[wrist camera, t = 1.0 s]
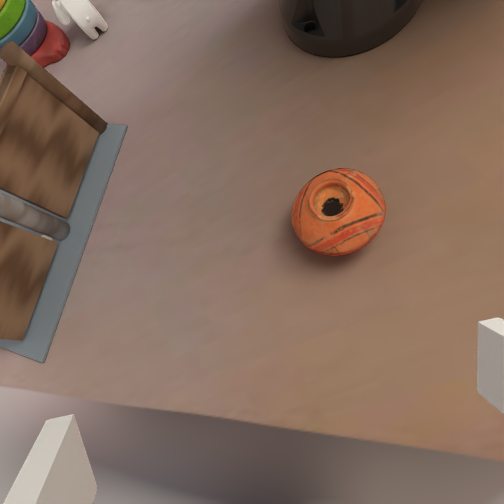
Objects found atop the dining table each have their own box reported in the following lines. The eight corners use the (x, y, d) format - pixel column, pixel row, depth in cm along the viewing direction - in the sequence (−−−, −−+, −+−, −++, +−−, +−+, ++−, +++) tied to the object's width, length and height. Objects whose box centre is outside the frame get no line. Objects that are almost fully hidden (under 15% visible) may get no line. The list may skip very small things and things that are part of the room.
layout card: (29, 122, 56) (27, 120, 55) (127, 126, 49) (126, 124, 49) (-55, 325, 50) (-58, 325, 49) (44, 362, 43) (41, 362, 42)
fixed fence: (97, 122, 51) (-11, 31, 37) (112, 122, 50) (7, 29, 36) (53, 240, 48) (-83, 188, 34) (68, 243, 47) (-65, 191, 33)
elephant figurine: (104, -1, 58) (75, -39, 53) (124, 26, 55) (95, -12, 49) (71, 29, 59) (39, -5, 53) (89, 57, 55) (56, 23, 50)
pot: (379, 276, 33) (354, 253, 28) (302, 258, 38) (268, 235, 33) (405, 192, 34) (385, 154, 29) (327, 184, 39) (298, 150, 34)
